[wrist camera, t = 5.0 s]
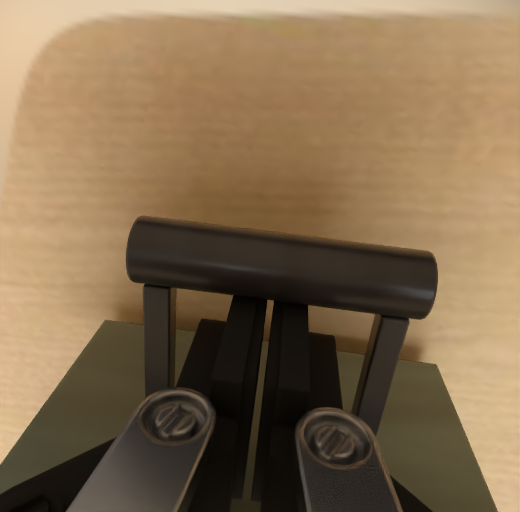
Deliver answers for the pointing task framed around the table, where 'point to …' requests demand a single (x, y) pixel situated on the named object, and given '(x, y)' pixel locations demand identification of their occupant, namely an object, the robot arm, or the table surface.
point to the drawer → (277, 289)
